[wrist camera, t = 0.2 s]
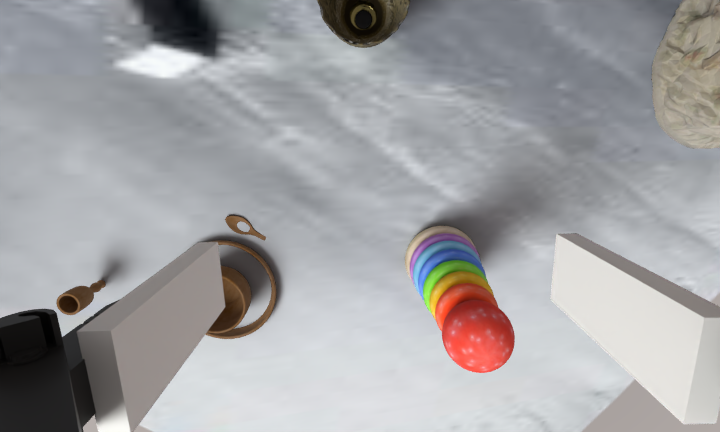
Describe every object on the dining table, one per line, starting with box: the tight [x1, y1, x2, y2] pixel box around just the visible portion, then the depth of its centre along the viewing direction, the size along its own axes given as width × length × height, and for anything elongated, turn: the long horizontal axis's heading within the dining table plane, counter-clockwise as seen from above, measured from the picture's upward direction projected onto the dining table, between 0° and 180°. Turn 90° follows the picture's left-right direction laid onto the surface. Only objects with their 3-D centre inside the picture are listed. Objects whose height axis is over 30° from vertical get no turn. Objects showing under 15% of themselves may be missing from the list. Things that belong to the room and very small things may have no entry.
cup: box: [317, 0, 410, 48], centre depth 34 cm, size 8×7×8 cm
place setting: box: [57, 216, 276, 339], centre depth 42 cm, size 18×20×6 cm
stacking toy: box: [405, 226, 515, 373], centre depth 35 cm, size 8×8×19 cm
